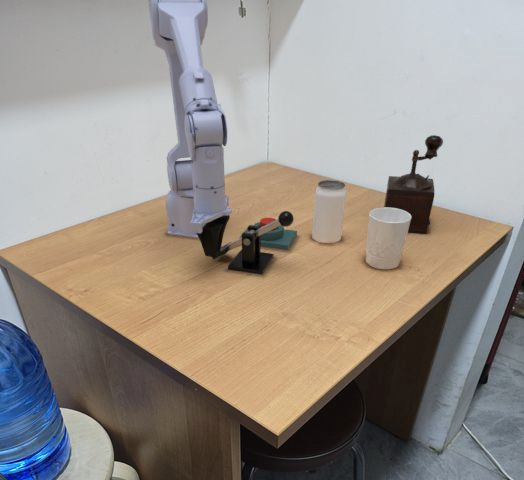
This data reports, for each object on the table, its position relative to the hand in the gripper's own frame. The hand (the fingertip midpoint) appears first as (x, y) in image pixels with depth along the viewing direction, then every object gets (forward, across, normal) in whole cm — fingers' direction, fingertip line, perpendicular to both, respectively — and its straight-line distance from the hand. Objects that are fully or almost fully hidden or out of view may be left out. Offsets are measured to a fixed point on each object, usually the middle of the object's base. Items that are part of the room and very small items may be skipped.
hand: (212, 253), depth 95 cm
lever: (-2, +3, -8) cm, 9 cm away
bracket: (+3, +3, -7) cm, 8 cm away
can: (+3, +20, -19) cm, 28 cm away
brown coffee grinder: (+3, +37, -35) cm, 51 cm away
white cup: (+3, +12, -32) cm, 34 cm away
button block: (+3, +15, -7) cm, 17 cm away
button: (0, +15, -7) cm, 17 cm away
